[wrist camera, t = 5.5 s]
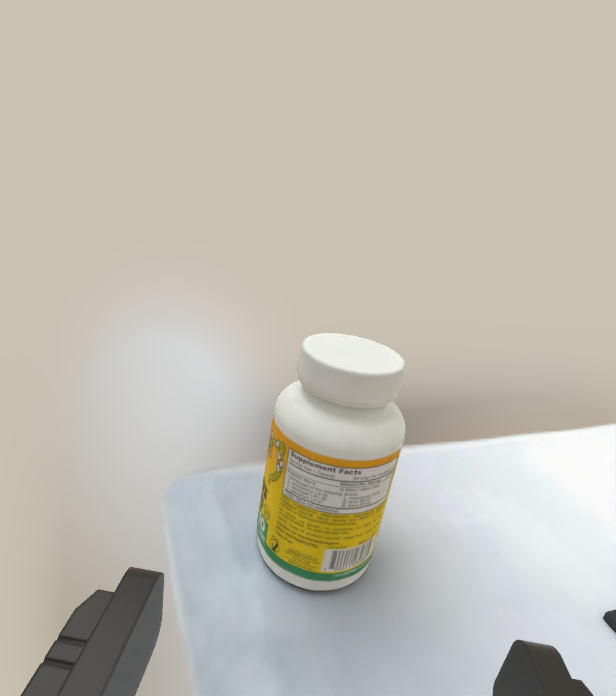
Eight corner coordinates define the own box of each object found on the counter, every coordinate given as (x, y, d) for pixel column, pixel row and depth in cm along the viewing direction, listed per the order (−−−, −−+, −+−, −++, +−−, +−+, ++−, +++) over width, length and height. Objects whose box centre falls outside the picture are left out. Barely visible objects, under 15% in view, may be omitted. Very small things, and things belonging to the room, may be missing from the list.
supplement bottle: (354, 617, 17) (415, 399, 13) (232, 563, 18) (259, 353, 15) (380, 526, 22) (429, 349, 18) (282, 489, 23) (311, 318, 20)
